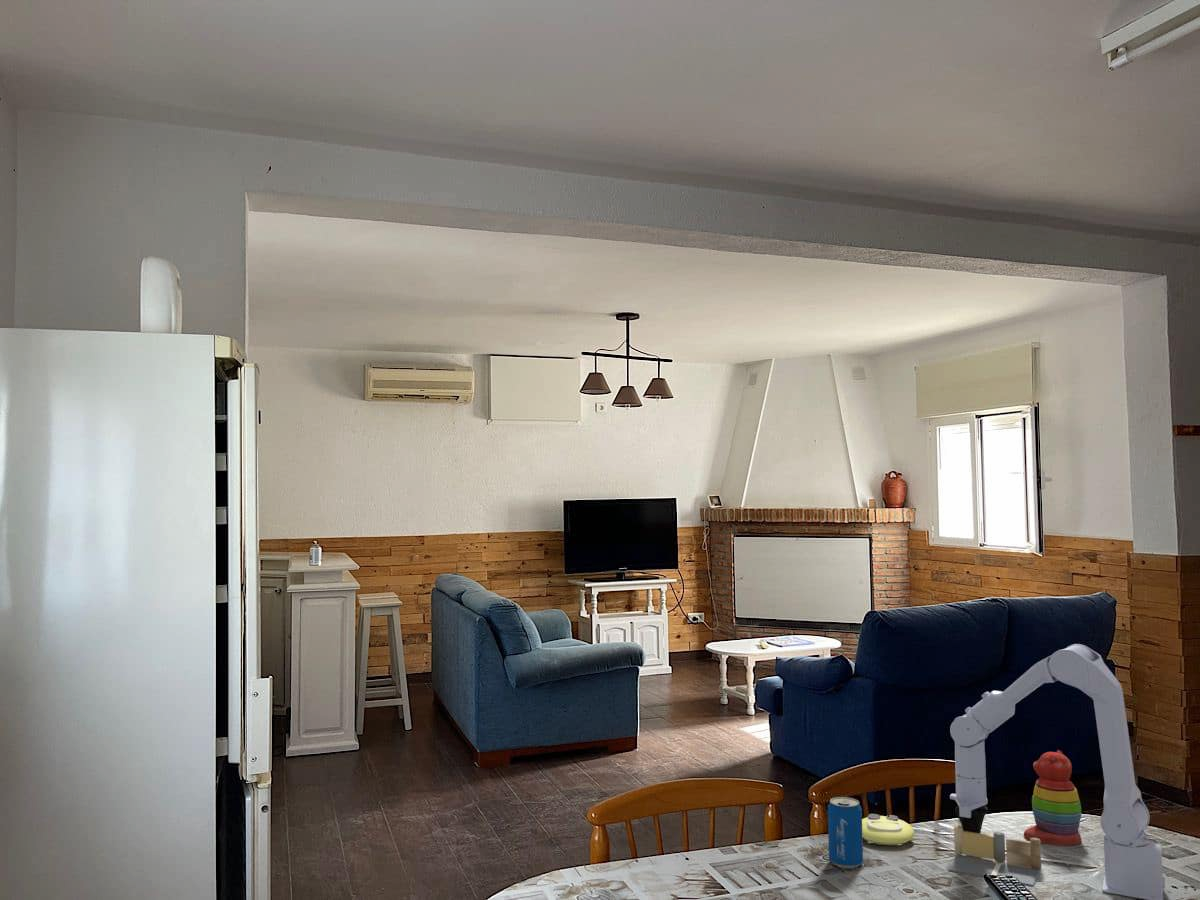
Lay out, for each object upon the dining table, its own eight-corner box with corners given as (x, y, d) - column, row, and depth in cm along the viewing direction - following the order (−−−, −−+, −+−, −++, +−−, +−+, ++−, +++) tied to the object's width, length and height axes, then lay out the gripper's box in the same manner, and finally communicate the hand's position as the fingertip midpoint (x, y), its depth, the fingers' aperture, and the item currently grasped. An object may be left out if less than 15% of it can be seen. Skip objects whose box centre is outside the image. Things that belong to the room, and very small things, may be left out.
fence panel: (1005, 859, 187) (1005, 832, 187) (1004, 862, 185) (1003, 836, 185) (955, 850, 192) (954, 825, 192) (953, 853, 190) (952, 827, 190)
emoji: (917, 834, 194) (910, 811, 205) (856, 831, 196) (853, 808, 208) (918, 853, 194) (911, 829, 205) (857, 850, 196) (853, 826, 208)
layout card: (1041, 863, 186) (1041, 861, 186) (1033, 886, 175) (1033, 884, 175) (960, 849, 194) (960, 848, 194) (948, 870, 183) (948, 869, 183)
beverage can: (825, 866, 185) (823, 803, 186) (833, 855, 191) (832, 794, 192) (858, 872, 182) (857, 808, 183) (866, 861, 188) (864, 799, 189)
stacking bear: (1041, 826, 208) (1038, 743, 209) (1090, 837, 200) (1087, 751, 201) (1020, 838, 200) (1017, 752, 201) (1070, 850, 193) (1067, 761, 194)
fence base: (1041, 867, 183) (1040, 838, 184) (1040, 870, 182) (1039, 841, 182) (1007, 861, 186) (1006, 833, 187) (1006, 864, 185) (1005, 836, 185)
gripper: (956, 764, 201) (958, 830, 200) (942, 781, 188) (944, 851, 187) (992, 768, 197) (994, 835, 196) (980, 786, 185) (982, 858, 184)
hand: (972, 844), depth 192 cm, fingers closed
